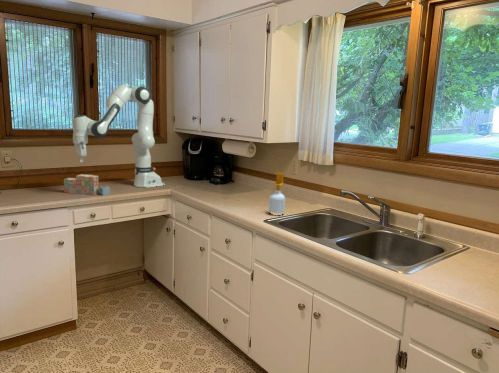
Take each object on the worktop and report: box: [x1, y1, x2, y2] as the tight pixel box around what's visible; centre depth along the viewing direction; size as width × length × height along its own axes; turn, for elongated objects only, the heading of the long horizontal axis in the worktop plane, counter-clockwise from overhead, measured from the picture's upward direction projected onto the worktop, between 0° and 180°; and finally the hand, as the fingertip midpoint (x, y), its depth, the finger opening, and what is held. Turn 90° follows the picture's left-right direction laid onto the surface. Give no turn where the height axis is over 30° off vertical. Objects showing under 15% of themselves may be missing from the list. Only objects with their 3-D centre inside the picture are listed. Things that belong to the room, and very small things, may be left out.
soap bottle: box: [268, 172, 286, 213], centre depth 224 cm, size 9×9×25 cm
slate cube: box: [98, 185, 111, 196], centre depth 256 cm, size 5×5×5 cm
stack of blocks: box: [63, 173, 100, 196], centre depth 256 cm, size 21×6×12 cm, turn 81°
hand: (81, 161), depth 253 cm, fingers closed
